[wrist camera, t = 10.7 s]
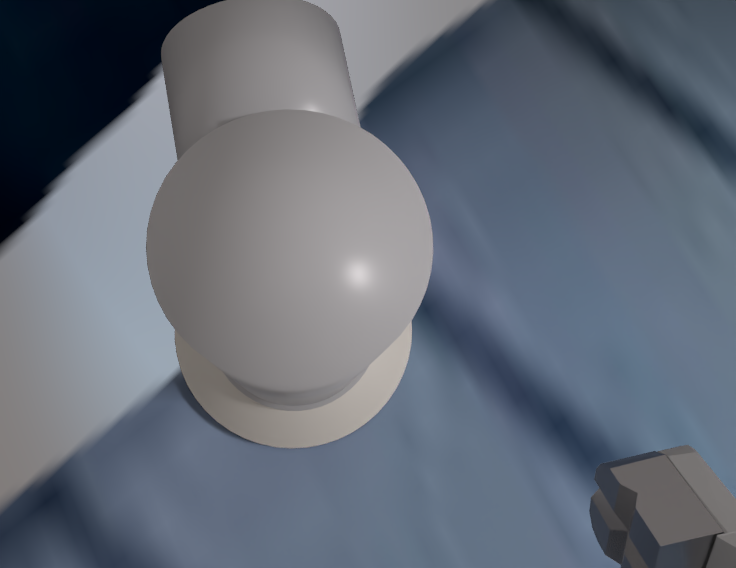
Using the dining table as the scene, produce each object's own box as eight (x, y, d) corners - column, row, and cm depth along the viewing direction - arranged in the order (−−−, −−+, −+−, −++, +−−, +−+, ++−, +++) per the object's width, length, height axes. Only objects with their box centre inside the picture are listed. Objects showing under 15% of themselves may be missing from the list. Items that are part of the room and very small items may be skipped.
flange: (340, 179, 25) (341, 177, 24) (452, 374, 24) (454, 373, 23) (135, 281, 23) (133, 279, 23) (244, 494, 22) (244, 495, 22)
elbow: (391, 393, 23) (471, 360, 12) (227, 426, 22) (161, 422, 12) (345, 177, 24) (382, -20, 14) (191, 201, 24) (102, 13, 13)
